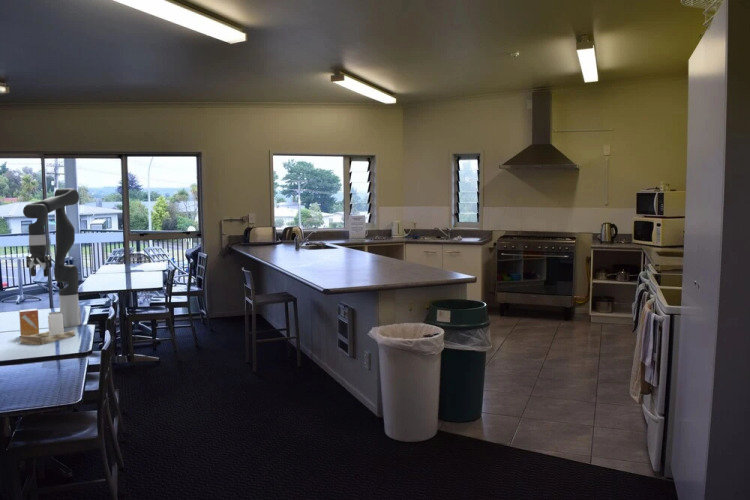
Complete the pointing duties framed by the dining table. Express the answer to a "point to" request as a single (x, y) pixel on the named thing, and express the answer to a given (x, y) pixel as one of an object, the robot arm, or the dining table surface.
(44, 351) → the dining table surface
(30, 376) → the dining table surface
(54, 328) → the white carton
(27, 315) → the small box
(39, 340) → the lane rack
